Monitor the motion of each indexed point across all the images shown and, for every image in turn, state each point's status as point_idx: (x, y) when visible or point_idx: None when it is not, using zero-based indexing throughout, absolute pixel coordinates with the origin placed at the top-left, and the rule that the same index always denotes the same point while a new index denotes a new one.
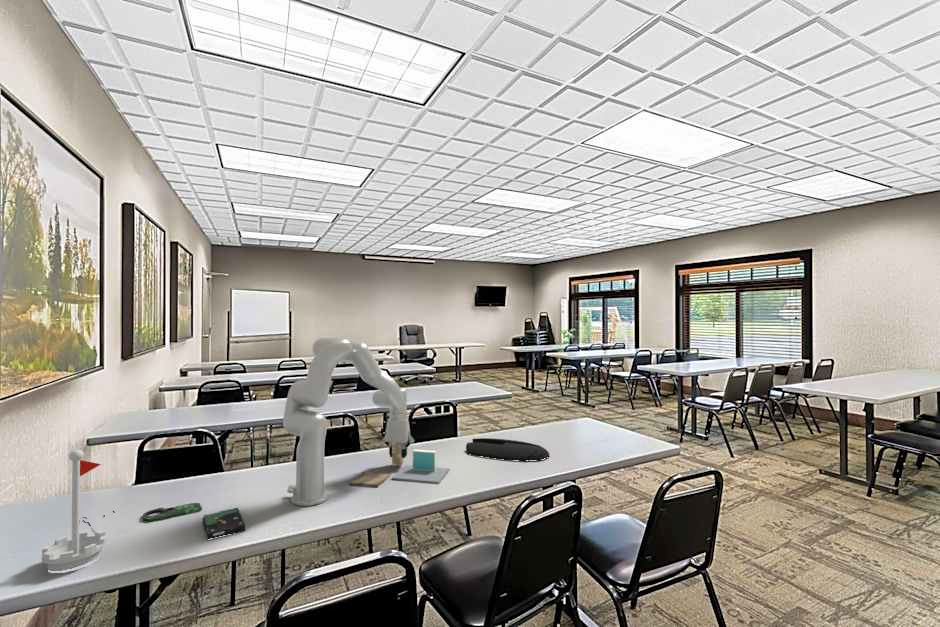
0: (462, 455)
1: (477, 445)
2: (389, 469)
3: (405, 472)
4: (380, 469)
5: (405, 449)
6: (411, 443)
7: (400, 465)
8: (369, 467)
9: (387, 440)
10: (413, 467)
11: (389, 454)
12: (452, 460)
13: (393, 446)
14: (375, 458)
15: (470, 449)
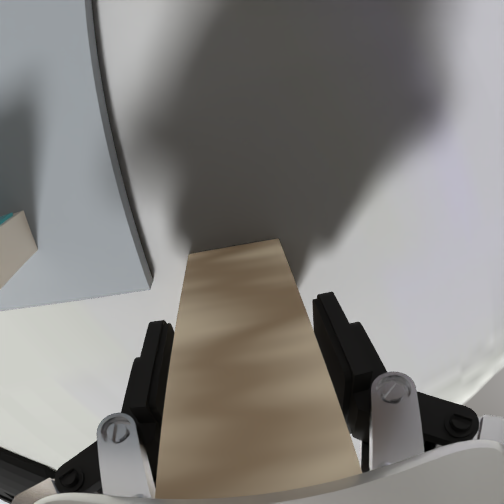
0: (57, 464)
1: None
2: (257, 153)
3: (27, 110)
4: (344, 121)
5: (122, 416)
6: (37, 486)
7: (188, 261)
8: (450, 145)
9: (480, 458)
10: (4, 216)
11: (356, 322)
12: (31, 425)
13: (312, 413)
14: (457, 325)
15: None
